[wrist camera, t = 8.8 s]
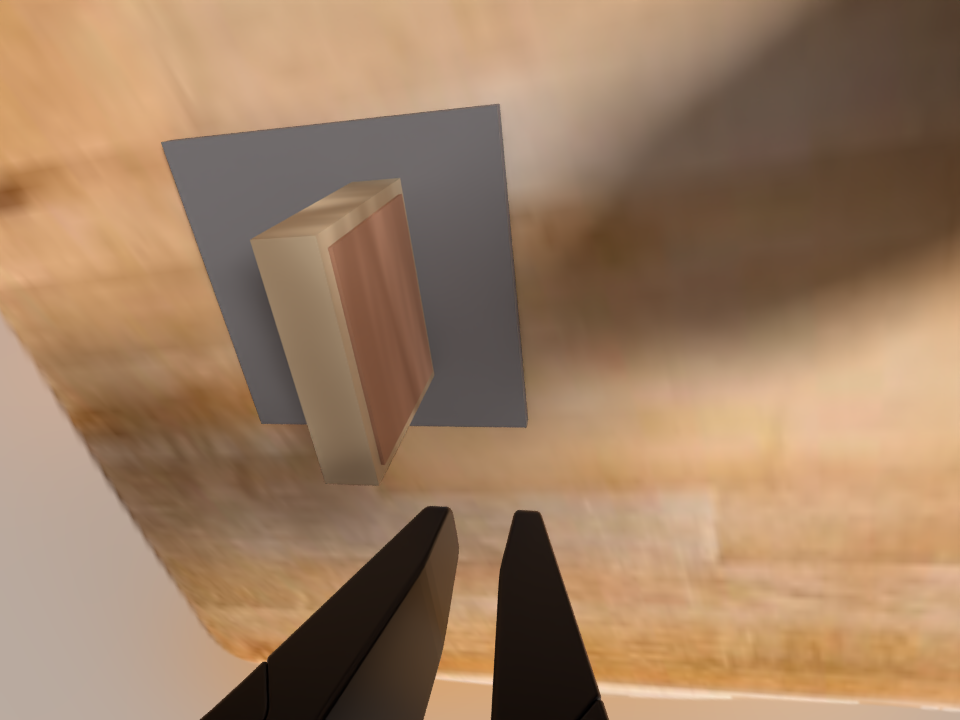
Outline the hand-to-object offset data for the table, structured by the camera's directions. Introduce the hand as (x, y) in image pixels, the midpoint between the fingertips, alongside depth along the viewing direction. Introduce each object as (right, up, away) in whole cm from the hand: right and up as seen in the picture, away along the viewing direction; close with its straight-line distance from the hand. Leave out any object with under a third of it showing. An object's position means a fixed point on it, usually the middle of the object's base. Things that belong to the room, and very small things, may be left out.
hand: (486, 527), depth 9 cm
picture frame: (-3, +5, +10) cm, 12 cm away
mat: (-4, +5, +11) cm, 13 cm away
